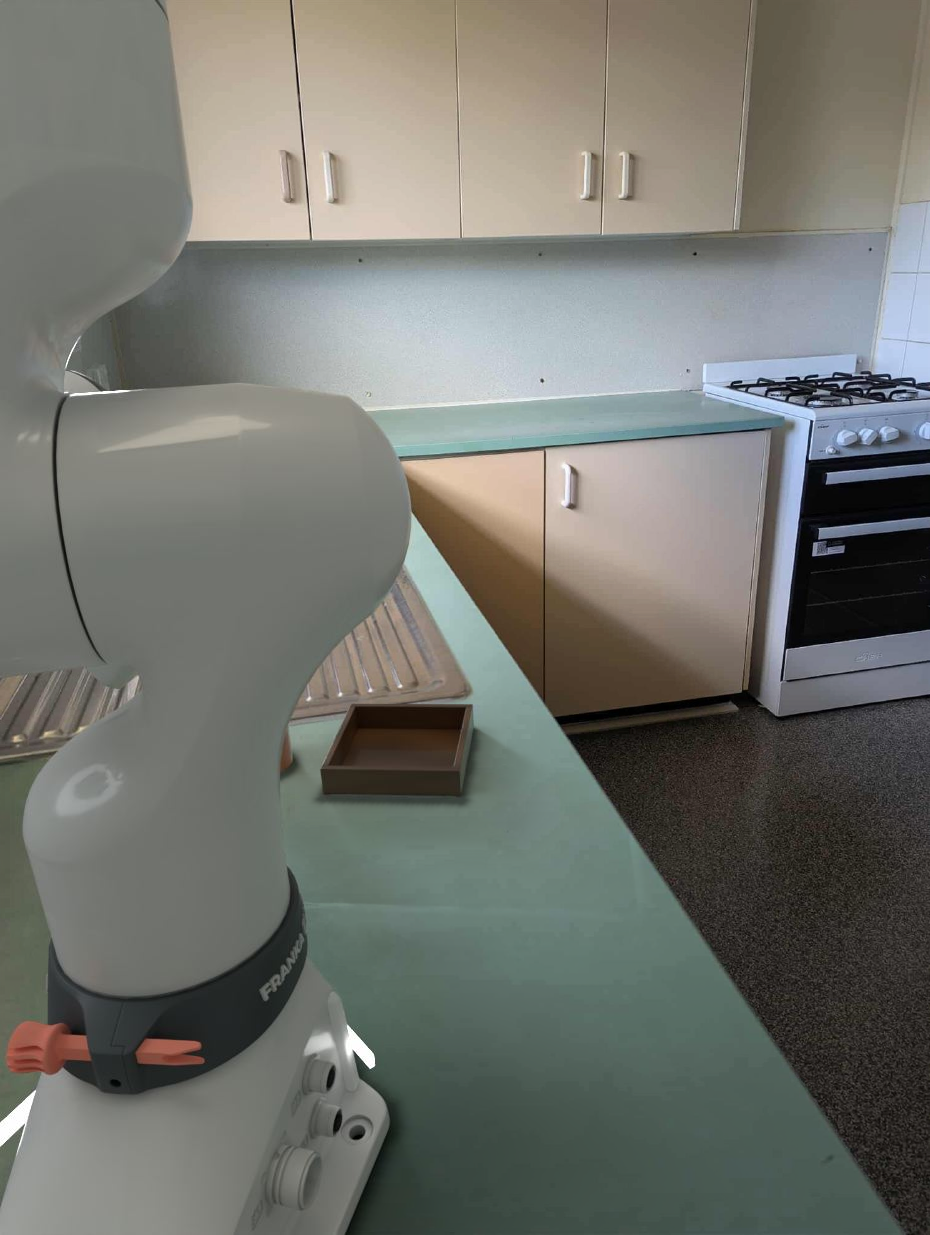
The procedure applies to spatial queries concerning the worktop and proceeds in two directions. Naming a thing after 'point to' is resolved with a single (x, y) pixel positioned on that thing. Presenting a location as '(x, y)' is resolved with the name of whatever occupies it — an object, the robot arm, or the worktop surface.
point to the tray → (400, 750)
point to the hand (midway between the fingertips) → (225, 668)
